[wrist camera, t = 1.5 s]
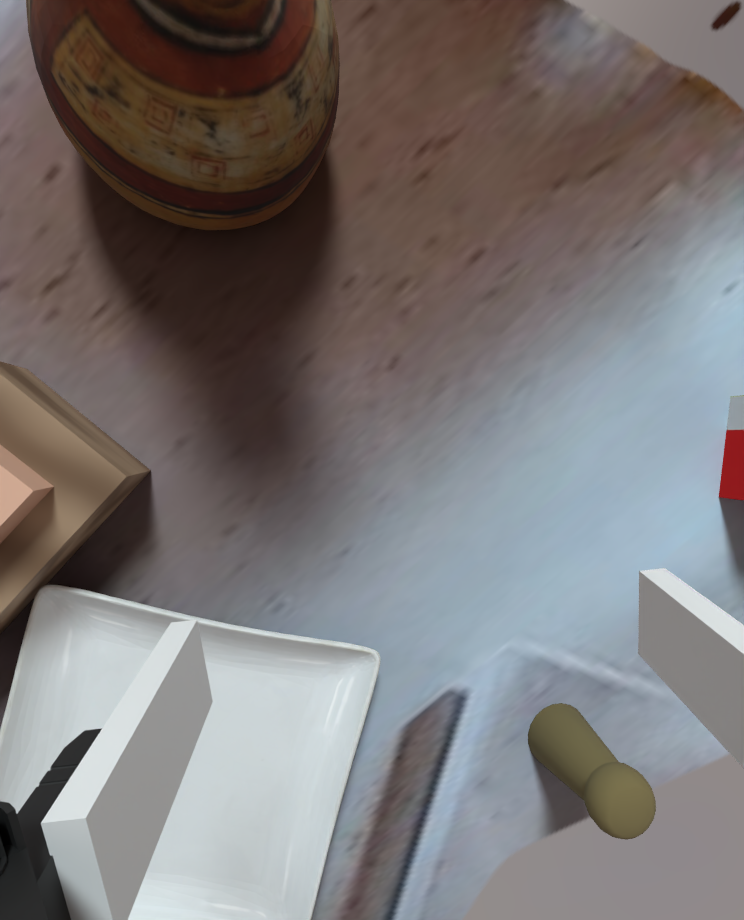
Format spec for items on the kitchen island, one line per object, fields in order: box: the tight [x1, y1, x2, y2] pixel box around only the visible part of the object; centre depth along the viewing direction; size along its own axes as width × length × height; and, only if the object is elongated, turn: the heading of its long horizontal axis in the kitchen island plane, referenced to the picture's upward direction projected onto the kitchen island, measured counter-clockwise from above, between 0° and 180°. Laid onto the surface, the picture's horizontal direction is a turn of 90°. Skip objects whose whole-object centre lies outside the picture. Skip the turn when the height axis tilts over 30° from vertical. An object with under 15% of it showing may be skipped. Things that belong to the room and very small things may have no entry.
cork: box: [528, 703, 656, 839], centre depth 45 cm, size 6×6×11 cm
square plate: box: [0, 585, 380, 920], centre depth 43 cm, size 27×27×4 cm
